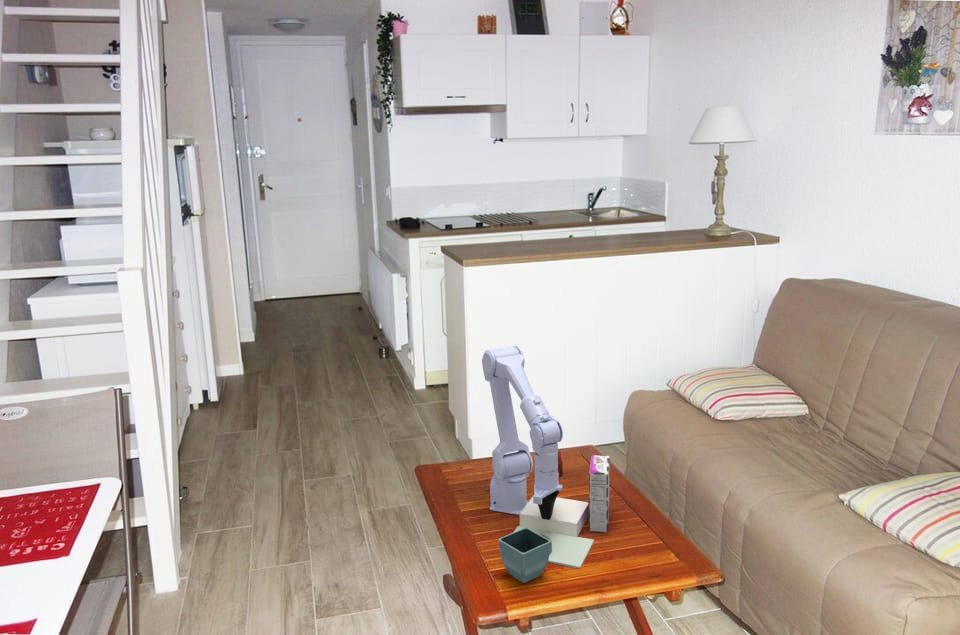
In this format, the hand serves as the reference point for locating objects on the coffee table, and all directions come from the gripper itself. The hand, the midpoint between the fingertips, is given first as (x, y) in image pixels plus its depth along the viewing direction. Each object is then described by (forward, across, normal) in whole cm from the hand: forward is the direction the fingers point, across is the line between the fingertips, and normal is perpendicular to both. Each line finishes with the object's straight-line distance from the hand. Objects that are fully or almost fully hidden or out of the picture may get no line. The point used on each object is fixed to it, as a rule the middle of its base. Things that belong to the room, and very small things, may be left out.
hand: (546, 518), depth 186 cm
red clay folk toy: (+5, +35, +10) cm, 37 cm away
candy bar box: (+5, +11, -11) cm, 16 cm away
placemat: (+5, -6, -2) cm, 7 cm away
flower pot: (+5, -19, -1) cm, 20 cm away
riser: (+5, +7, 0) cm, 8 cm away
